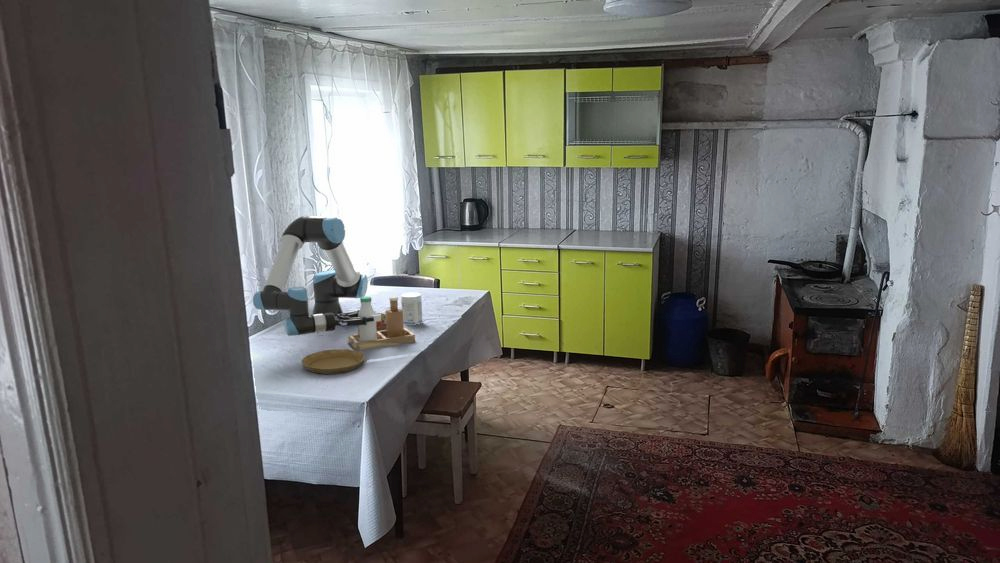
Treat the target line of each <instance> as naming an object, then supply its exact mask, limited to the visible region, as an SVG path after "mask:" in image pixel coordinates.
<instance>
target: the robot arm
mask: <svg viewBox="0 0 1000 563" xmlns="http://www.w3.org/2000/svg"><path fill="white" fill-rule="evenodd" d="M345 228H346V227H345V224H344V222H343V220H342V219H341V218H340V217H338V216H335V215H334V216H333V215H302V216H300V217H298V218H296V219H294V220H293V221H292V222H291V223H289V225H288V226H286V228H285V229H284V231H283V233H282V235H281V238H280V242H281V244H280V246H279V250H278V252H277V254H276V257H275V259H274V262H273V265H272V267H271V270H270V272H269V275H268V276H267V280H266V282H265V283H264V284H265V285H264V287H263V289H262V290H258V291H256V292H255V293H254V294H253V297H252V304H253V306H254V309H257V310H262V311H289V312H288V313H289V316H288V317H285V318H284V330H285V334H286V335H287V336H289V337H290V336H300V335H302V336H303V335H308V334H309V335H310V334H315V333H316V334H319V333H323V332H325V331H326V332H330V331H335V330H336V326H339V327H341V328H346V327H347V328H348V327H353V326H354V327H355V326H358V325H366V323H369V322H377V321H381V314H379V315H376V309H373V310H374V312H375V315H371V316H365V317H358V313H359V310H360V309H357V310H353V311H348V312H347V311H346V312H344V311H343V309H342V306H341V303H340V299H339V298H341V299H360V298H361V297H365V296H366V294H367V291H368V283H369V282H368V276H367V274H364V273H363V274H361V273H360V271H359V270H358V269H357V268H355V267H354V264H353V263H352V260H351V258H350V257H349V255H348V253H347V252H348V251H347V250H346V247H345V245H344V242H343V241H344V240H345V237H346V229H345ZM305 243H316V244H317V246H318V247H319V249H321V250H323V251H324V252H325V254H326V256H327V258H328V260H329V262H330V264H331V266H332V268H333V269H332V270H326V271H321V272H317V273H315V274H314V275H313V279H312V280H313V282H312V284H313V298H314V305H313V310H312V312H311V314H310V312H309V310H310V309H309V296H308V291H307V288H306V287H304V286H292V287H289V288H288V289H287V291H284V289H285V287H286V283H287V280H288V279H289V276H290V274H291V271H292V268H293V266H294V263H295V260H296V258H297V255H298V252H299V250H300V249H302V248H303V246H304V244H305Z"/></svg>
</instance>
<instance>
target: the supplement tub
mask: <svg viewBox="0 0 1000 563" xmlns="http://www.w3.org/2000/svg"><path fill="white" fill-rule="evenodd" d="M400 297H401V298H400V300H401V301H400V303H401V305H400V306H401V309H402V310H403V321H404V326H417V325H416V324H418V325H421V324H423V307H422V306H423V302H422V294H421V293H420V292H405V293H402V294H401V296H400ZM420 323H421V324H420Z"/></svg>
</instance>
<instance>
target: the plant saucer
mask: <svg viewBox="0 0 1000 563" xmlns="http://www.w3.org/2000/svg"><path fill="white" fill-rule="evenodd" d="M365 358H366V356H365V354H364V353H363V352H361V351H360V350H356V349H355V350H354V349H346V348H345V349H343V348H341V349H339V348H337V349H326V350H321V351H316V352H313V353H310V354H307V355H306V356H304V357H303V358H302V360H301V364H302V366H303V367H304V368H306V369H307V370H309V371H311V372H313V373H316V374H322V375H323V374H324V375H330V374H331V375H332V374H333V375H334V374H340V373H346V372H350V371H352V370H355V369H356V368H358V367H359V366H361V364H363V363H364V360H365Z"/></svg>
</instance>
